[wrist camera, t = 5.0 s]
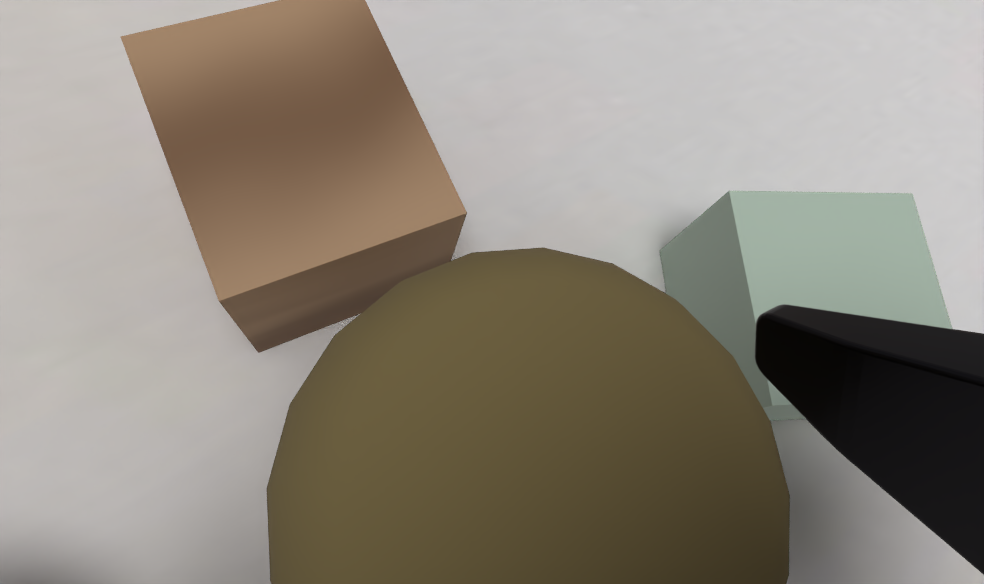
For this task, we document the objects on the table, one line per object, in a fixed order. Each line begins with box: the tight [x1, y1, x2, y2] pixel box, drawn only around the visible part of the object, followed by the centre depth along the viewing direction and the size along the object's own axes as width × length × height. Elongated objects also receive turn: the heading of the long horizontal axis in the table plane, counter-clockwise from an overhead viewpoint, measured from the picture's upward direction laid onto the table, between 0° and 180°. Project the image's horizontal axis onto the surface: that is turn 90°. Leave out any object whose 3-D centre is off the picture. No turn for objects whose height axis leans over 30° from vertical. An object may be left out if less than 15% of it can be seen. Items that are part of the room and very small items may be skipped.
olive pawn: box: [267, 248, 790, 584], centre depth 10 cm, size 6×6×11 cm
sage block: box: [660, 191, 952, 421], centre depth 17 cm, size 5×5×4 cm
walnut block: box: [121, 0, 467, 353], centre depth 15 cm, size 6×5×4 cm
